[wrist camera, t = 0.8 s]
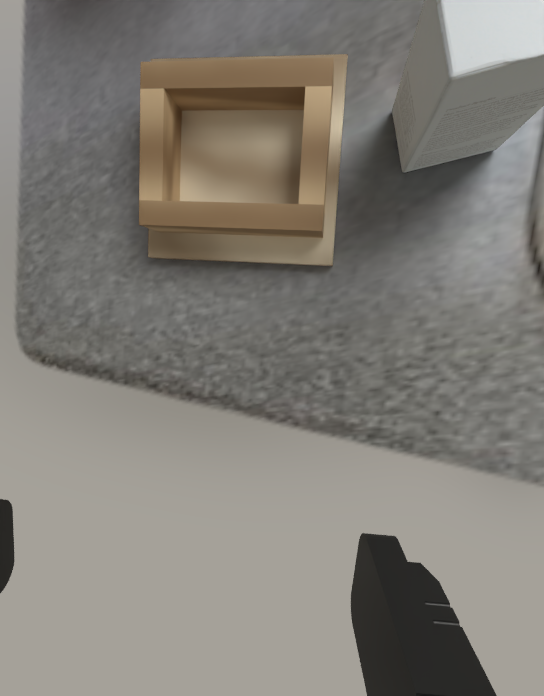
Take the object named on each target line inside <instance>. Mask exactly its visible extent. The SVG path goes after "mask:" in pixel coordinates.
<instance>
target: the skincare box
mask: <svg viewBox="0 0 544 696" xmlns="http://www.w3.org/2000/svg"><path fill="white" fill-rule="evenodd" d="M543 106H544V0H425V1H424V4H423V7H422V11H421V14H420V18H419V21H418V24H417V28H416V31H415V35H414V38H413V42H412V45H411V49H410V52H409V55H408V59H407V62H406V65H405V69H404V72H403V76H402V79H401V82H400V86H399V89H398V92H397V96H396V99H395V103H394V106H393V109H392V114H393V120H394V125H395V131H396V138H397V144H398V150H399V157H400V163H401V169H402V172H403V173H406V172H409V171H413V170H417V169H421V168H425V167H429V166H433V165H437V164H441V163H446V162H449V161H453V160H457V159H461V158H465V157H469V156H473V155H477V154H481V153H485V152H489V151H493V150H496V149H497V148H498V147H500V146H501V145H502V144H503V143H504V142H505V141H506V140H507V139H508V138H509V137H510V136H511V135H513V134H514V133H515V132H516V131H517V130H518V129H519V128H520V127H521V126H522V125H523V124H524V123H525V122H526V121H527V120H529V119H530V118H531V117H532V116H533V115H534V114H535V113H536V112H537V111H538V110H539V109H540V108H541V107H543Z"/></svg>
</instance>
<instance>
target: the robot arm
mask: <svg viewBox="0 0 544 696" xmlns="http://www.w3.org/2000/svg"><path fill="white" fill-rule="evenodd" d="M13 566H14V537H13V511H12V505H11V503H10V502H9V501H8V500H2V499H0V593H1V592H2V591H3V589H4V588H5V586H6V584H7V583H8V581H9V578H10V576H11V573H12V570H13ZM351 614H352V615H351V616H352V623H353V629H354V634H355V638H356V643H357V648H358V652H359V658H360V662H361V668H362V672H363V677H364V681H365V686H366V692H367V696H496V694H495V692H494V690H493V688H492V686H491V684H490V682H489V680H488V678H487V676H486V674H485V672H484V670H483V668H482V666H481V664H480V662H479V660H478V658H477V656H476V654H475V652H474V650H473V648H472V646H471V644H470V642H469V640H468V638H467V636H466V634H465V632H464V630H463V628H462V627H460V625H459V620H458V618H457V616H456V614H455V613H454V610H453V609H452V608H450V603H449V601H448V599H447V597H446V595H445V593H444V591H443V589H442V587H441V585H440V583H439V581H438V580H437V579H436V578H435V577H434V576H433V575H432V574H431V573H430V572H429V571H428V570H427V569H426V568H425V567H424V566H423V565H422V564H421V563H414V562H407V560H406V557H405V555H404V553H403V550H402V548H401V546H400V543H399V541H398V539H397V538H396V537H395V536H386V535H376V534H375V535H374V534H364V533H363V534H361V536H360V539H359V545H358V552H357V558H356V565H355V572H354V578H353V585H352V592H351Z"/></svg>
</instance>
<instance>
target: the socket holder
mask: <svg viewBox="0 0 544 696" xmlns="http://www.w3.org/2000/svg"><path fill="white" fill-rule="evenodd" d="M347 56H348V54H340V55H298V56H256V57H214V58H172V59H151V62H141V79H140V177H139V225H141V226H144V227H146V228H149V230H148V257H150V258H159V259H181V260H204V261H226V262H249V263H272V264H294V265H317V266H333V252H334V238H335V224H336V210H337V196H338V182H339V168H340V154H341V140H342V126H343V112H344V98H345V84H346V70H347Z"/></svg>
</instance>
